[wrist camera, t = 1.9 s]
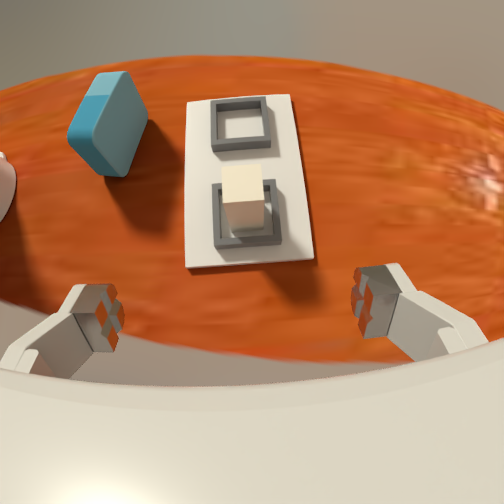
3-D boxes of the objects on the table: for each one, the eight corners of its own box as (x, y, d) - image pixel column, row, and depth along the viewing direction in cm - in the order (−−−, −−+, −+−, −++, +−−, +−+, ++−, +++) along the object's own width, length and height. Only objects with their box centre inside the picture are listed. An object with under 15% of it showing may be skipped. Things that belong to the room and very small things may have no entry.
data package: (126, 115, 46) (99, 68, 35) (150, 115, 46) (126, 66, 35) (101, 178, 44) (62, 138, 32) (126, 181, 44) (90, 139, 32)
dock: (187, 268, 40) (181, 264, 37) (188, 106, 46) (184, 94, 43) (312, 259, 40) (316, 254, 37) (289, 98, 46) (290, 86, 43)
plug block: (231, 232, 40) (222, 203, 31) (229, 203, 41) (221, 166, 31) (263, 230, 40) (264, 199, 30) (260, 200, 41) (260, 163, 31)
